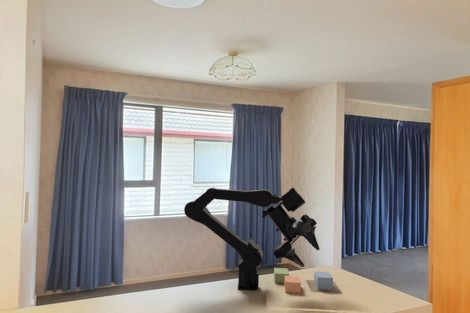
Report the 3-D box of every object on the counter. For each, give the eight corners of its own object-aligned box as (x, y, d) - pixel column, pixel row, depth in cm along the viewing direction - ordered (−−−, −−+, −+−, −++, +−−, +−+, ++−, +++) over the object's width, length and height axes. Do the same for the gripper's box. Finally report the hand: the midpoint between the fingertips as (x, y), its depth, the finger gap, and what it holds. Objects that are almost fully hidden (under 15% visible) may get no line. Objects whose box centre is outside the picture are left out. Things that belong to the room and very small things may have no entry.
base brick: (317, 289, 116) (317, 277, 116) (314, 282, 123) (314, 271, 123) (332, 290, 115) (333, 277, 116) (328, 283, 122) (328, 271, 123)
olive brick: (274, 284, 122) (274, 273, 122) (273, 278, 129) (274, 267, 129) (288, 285, 121) (289, 274, 121) (287, 279, 128) (287, 268, 128)
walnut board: (311, 293, 113) (311, 291, 113) (306, 281, 125) (306, 280, 125) (342, 294, 113) (342, 293, 113) (334, 283, 125) (334, 281, 125)
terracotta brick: (285, 294, 112) (285, 281, 113) (284, 287, 119) (284, 275, 120) (300, 295, 112) (301, 282, 112) (298, 288, 119) (298, 276, 119)
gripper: (277, 229, 106) (310, 271, 104) (311, 198, 117) (340, 236, 115) (260, 238, 115) (290, 277, 113) (293, 209, 126) (320, 243, 124)
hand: (311, 258), depth 116 cm, fingers open, 9 cm apart
